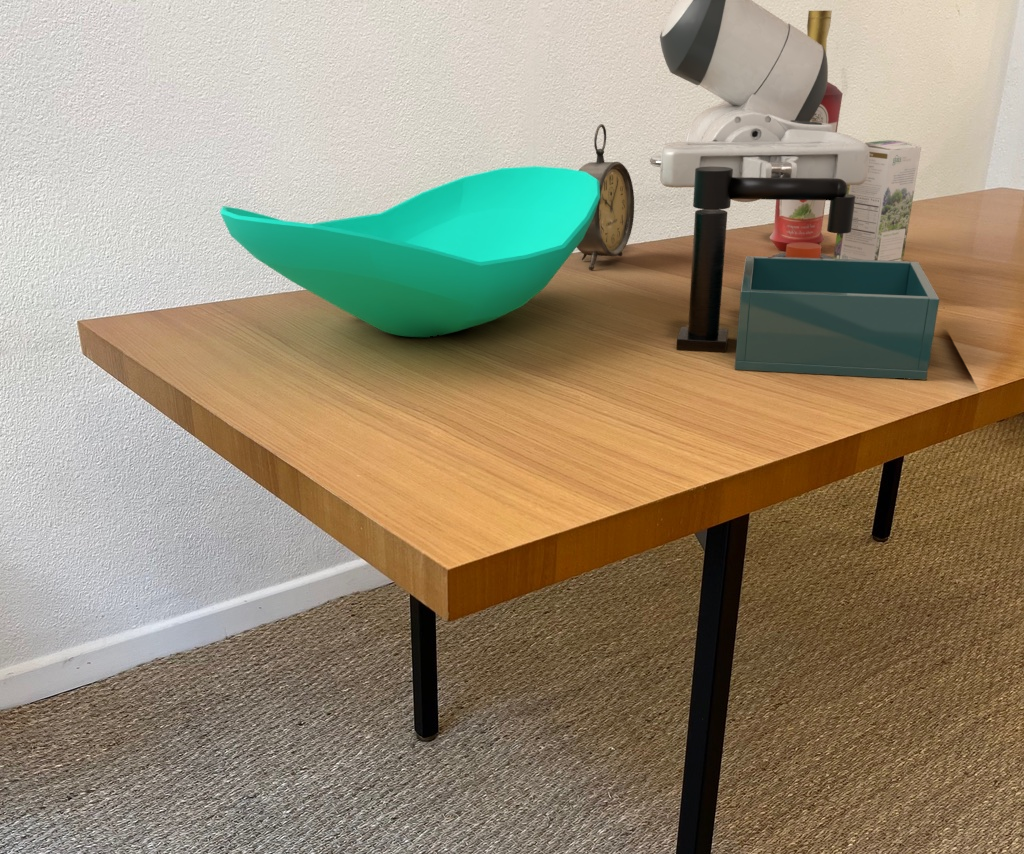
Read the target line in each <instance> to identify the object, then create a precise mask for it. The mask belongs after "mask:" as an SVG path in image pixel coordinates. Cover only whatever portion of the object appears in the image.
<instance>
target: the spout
mask: <svg viewBox="0 0 1024 854" xmlns="http://www.w3.org/2000/svg"><path fill="white" fill-rule="evenodd" d="M732 176H733V169H732V168H728V167H715V166H710V167H698V168H696V169H695V183H694V187H693V201H692V202H693V203H692V206H693V207H692V208H695V209H698V210H702V209H707V210H726V209H729V208H731V202H732V200H731V199H760V200H770V201H771V200H772V201H773V200H775V201H776V200H826V201H829V207H828V208H829V209H828V218H827V226H826V227H827V228H826V232H828V233H832V234H837V233H850V232H851V227H852V219H853V211H854V203H855V196H854V195H850V194H846V193H847V190H848V187H847V184H846V182H845V181H844V180H842V179H838V178H753V177H732Z"/></svg>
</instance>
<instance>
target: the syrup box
mask: <svg viewBox="0 0 1024 854" xmlns="http://www.w3.org/2000/svg"><path fill="white" fill-rule="evenodd" d="M864 143H865V144H866V145H867V146H868V147H869V153H870V154H869V165H868V172H867V177H866V180H865V182H864V183H863V184H860V185H847V187H848V190H847V193H846V194H850V195H854V196H855V203H854V211H853V219H852V227H851V232H850V233H836V238H835V246H834V252H833V258H834V259H853V260H883V261H904V256H905V249H906V243H907V236H908V231H909V227H910V226H909V224H910V218H911V212H912V207H913V201H914V195H915V188H916V183H917V176H918V170H919V164H920V157H921V152H922V146H921V145H920V144H916V143H913V142H909V141H908V142H907V141H902V140H893V139H888V140H884V139H883V140H874V141H866V142H864Z"/></svg>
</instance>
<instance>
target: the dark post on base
mask: <svg viewBox="0 0 1024 854" xmlns="http://www.w3.org/2000/svg"><path fill="white" fill-rule="evenodd" d="M727 222H728V211H727V210H725V209H720V210H707V209H698V210H695V211H694V225H693V238H692V239H693V240H692V241H693V242H692V258H691V272H690V273H691V275H690V290H689V305H688V306H689V308H688V324H687V326H681V327H680V329H679V333H678V336H677V339H676V350H677V351H692V350H694V352H710V353H711V352H714V353H726V352H727V344H728V339H729V329H728V328H720V321H721V320H720V319H721V307H722V306H721V305H722V292H723V277H724V264H725V250H726V239H727V236H726V235H727V225H728V223H727Z"/></svg>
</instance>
